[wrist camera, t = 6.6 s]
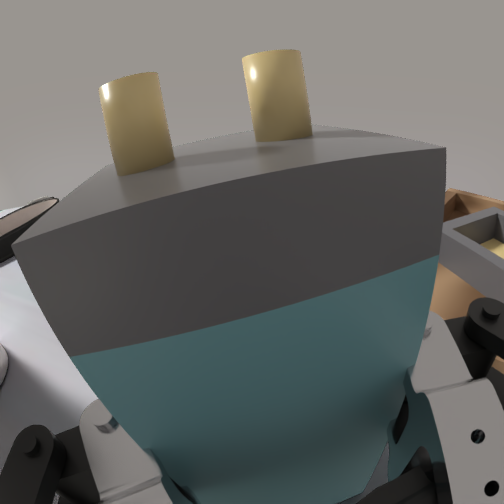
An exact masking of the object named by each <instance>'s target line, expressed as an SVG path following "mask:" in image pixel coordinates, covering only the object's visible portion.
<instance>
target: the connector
mask: <svg viewBox="0 0 504 504" xmlns="http://www.w3.org/2000/svg"><path fill="white" fill-rule="evenodd" d="M242 63H243V69H244V75H245V80H246V86H247V92H248V98H249V104H250V110H251V116H252V122H253V128H254V130H252V131H246V132H240V133H235V134H230V135H225V136H219V137H215V138H210V139H206V140H200V141H196V142H192V143H187V144H183V145H179V146H175V147H172V144H171V139H170V134H169V129H168V124H167V119H166V114H165V109H164V104H163V99H162V93H161V88H160V83H159V78H158V73H156V72H146V73H139V74H134V75H130V76H126V77H123V78H120V79H117V80H114V81H111V82H109V83H107V84H105V85H103V86H101V87H100V88H99V95H100V100H101V106H102V111H103V115H104V121H105V125H106V130H107V135H108V139H109V143H110V147H111V151H112V156H113V160H114V163H113V164H110V165H107V166H105V167H104V168H102V169H101V170H100V171H98V172H97V173H96V174H94V175H93V176H92V177H90V178H89V179H88V180H86V181H85V182H84V183H82V184H81V185H80V186H78V187H77V188H76V189H75V190H73V191H72V192H71V193H69V194H68V195H67V196H66V197H65V198H63V199H62V200H61V201H60V202H58V203H57V204H56V205H55V206H54V207H52V208H51V209H50V210H49V211H48V212H47V213H45V214H44V215H43V216H42V217H41V218H40V219H39V220H37V221H36V222H35V223H34V224H33V225H32V226H31V227H30V228H29V229H27V230H26V231H25V232H24V233H23V234H22V235H21V236H20V237H19V238H18V239H17V240H16V241H15V242H14V243H13V244H12V245H11V247H12V249H13V252H14V254H15V256H16V259H17V261H18V263H19V266H20V268H21V270H22V272H23V274H24V277H25V279H26V281H27V283H28V285H29V287H30V289H31V291H32V293H33V295H34V297H35V299H36V301H37V303H38V305H39V307H40V308H41V310H42V312H43V314H44V316H45V318H46V319H47V321H48V323H49V325H50V326H51V328H52V330H53V332H54V333H55V335H56V337H57V338H58V340H59V341H60V343H61V345H62V346H63V348H64V350H65V351H66V353H67V354H68V356H69V357H70V359H71V360H72V362H73V363H74V365H75V366H76V368H77V369H78V371H79V372H80V374H81V375H82V376H83V378H84V379H85V381H86V382H87V383H88V385H89V386H90V388H91V389H92V390H93V392H94V393H95V394H96V396H97V397H98V398H99V399H100V401H101V402H102V403H103V405H104V406H105V407H106V408H107V410H108V411H109V412H110V413H111V415H112V416H113V417H114V418H115V419H116V421H117V422H118V423H119V424H120V425H121V427H122V428H123V429H124V430H125V431H126V432H127V433H128V435H129V436H130V437H131V438H132V439H133V440H134V441H135V442H136V443H137V444H138V446H139V447H140V448H141V449H145V448H150V449H151V450H152V451H153V452H154V453H155V454H156V456H157V457H158V458H159V459H160V460H161V462H162V464H163V466H164V468H165V470H166V471H167V473H168V475H169V477H170V478H171V479H173V480H174V481H175V482H176V483H177V484H178V485H179V486H180V487H181V486H188V487H189V488H190V489H191V490H192V491H193V492H194V494H195V495H196V497H197V498H198V500H199V501H200V503H201V504H336V503H339V502H341V501H344V500H346V499H348V498H351V497H353V496H355V495H358V494H360V493H362V492H363V491H364V489H365V487H366V485H367V483H368V481H369V479H370V477H371V475H372V473H373V471H374V469H375V467H376V465H377V463H378V461H379V459H380V457H381V455H382V452H383V450H384V448H385V446H386V443H387V441H388V437H387V428H388V425H389V422H390V421H391V420H393V419H395V418H397V417H398V414H399V411H400V409H401V406H402V403H403V401H404V398H405V395H406V393H405V389H404V385H403V381H404V377H405V374H406V370H407V368H408V367H410V366H412V365H414V364H416V361H417V357H418V354H419V350H420V347H421V343H422V339H423V335H424V331H425V327H426V323H427V319H428V314H429V310H430V305H431V300H432V295H433V290H434V285H435V279H436V273H437V267H438V260H439V253H440V245H441V237H442V228H443V217H444V204H445V186H446V147H441V146H437V145H433V144H429V143H425V142H420V141H415V140H411V139H406V138H401V137H395V136H390V135H384V134H379V133H372V132H366V131H359V130H352V129H345V128H338V127H329V126H320V125H311V117H310V110H309V103H308V96H307V89H306V83H305V76H304V70H303V64H302V58H301V52H300V51H298V50H272V51H265V52H259V53H255V54H251V55H248V56H245V57H243V58H242Z"/></svg>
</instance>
